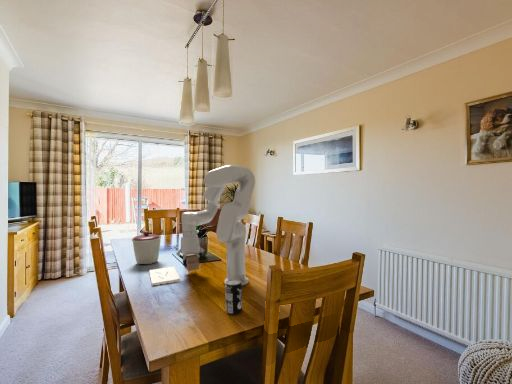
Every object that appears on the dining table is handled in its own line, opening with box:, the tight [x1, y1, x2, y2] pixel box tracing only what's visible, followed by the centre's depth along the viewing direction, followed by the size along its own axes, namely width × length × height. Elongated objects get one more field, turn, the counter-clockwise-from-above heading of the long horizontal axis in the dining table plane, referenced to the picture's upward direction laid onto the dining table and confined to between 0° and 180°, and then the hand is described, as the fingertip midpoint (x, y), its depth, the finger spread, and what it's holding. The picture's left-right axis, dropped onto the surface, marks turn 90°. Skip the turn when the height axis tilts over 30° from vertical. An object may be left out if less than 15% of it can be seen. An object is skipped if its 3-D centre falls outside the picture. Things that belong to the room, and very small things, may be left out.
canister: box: [131, 230, 162, 265], centre depth 181 cm, size 18×18×21 cm
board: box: [148, 266, 181, 287], centre depth 152 cm, size 24×14×2 cm, turn 24°
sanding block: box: [183, 254, 200, 272], centre depth 154 cm, size 10×6×7 cm, turn 28°
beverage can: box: [224, 279, 243, 316], centre depth 108 cm, size 7×7×12 cm
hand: (191, 265), depth 154 cm, fingers closed on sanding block, 6 cm apart
